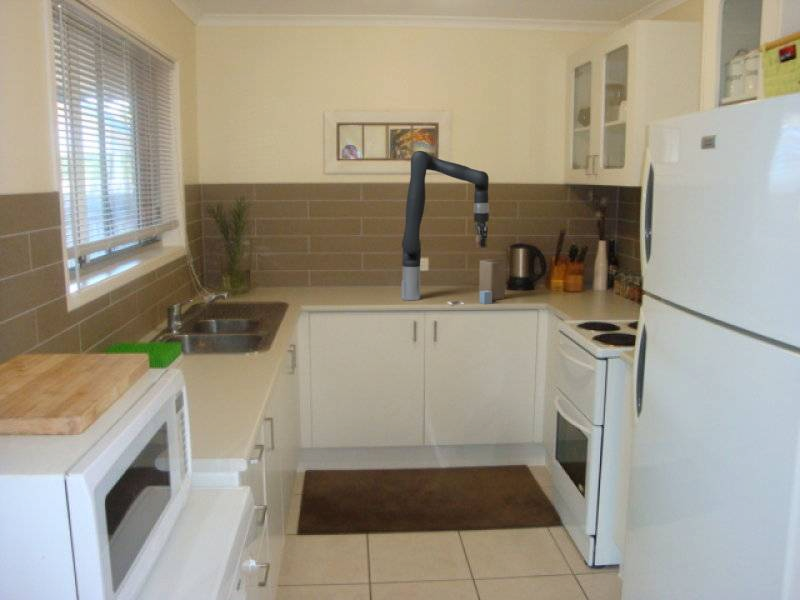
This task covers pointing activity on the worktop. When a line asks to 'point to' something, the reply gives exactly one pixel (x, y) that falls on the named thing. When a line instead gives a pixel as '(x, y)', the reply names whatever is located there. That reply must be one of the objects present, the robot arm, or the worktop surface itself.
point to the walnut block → (478, 242)
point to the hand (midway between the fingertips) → (481, 245)
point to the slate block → (485, 297)
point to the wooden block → (492, 277)
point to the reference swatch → (455, 303)
